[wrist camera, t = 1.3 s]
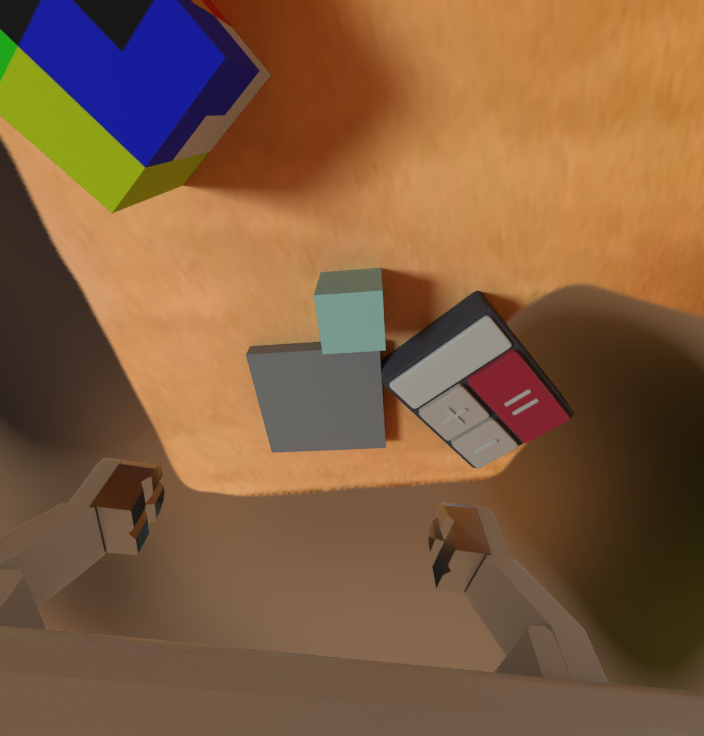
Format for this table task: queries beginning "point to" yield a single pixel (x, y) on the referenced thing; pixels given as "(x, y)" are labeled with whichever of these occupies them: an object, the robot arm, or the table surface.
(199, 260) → the table surface
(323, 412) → the slate coaster
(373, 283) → the teal cube
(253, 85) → the puzzle toy
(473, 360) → the calculator
